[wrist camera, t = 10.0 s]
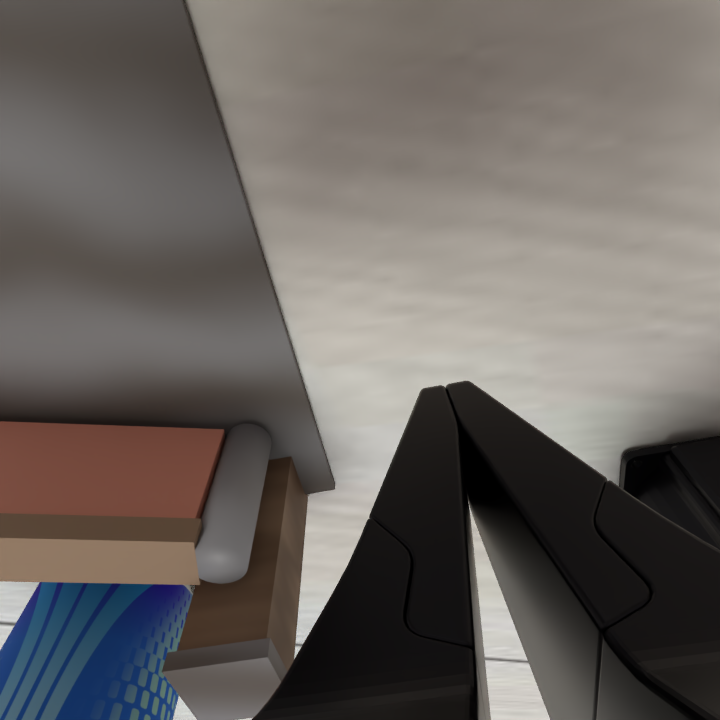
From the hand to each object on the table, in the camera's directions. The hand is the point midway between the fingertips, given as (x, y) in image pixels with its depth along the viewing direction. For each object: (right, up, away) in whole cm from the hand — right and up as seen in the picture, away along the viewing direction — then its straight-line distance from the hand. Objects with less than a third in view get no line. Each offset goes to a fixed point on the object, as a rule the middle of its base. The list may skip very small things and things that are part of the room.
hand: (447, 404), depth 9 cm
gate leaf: (-16, -2, +13) cm, 21 cm away
